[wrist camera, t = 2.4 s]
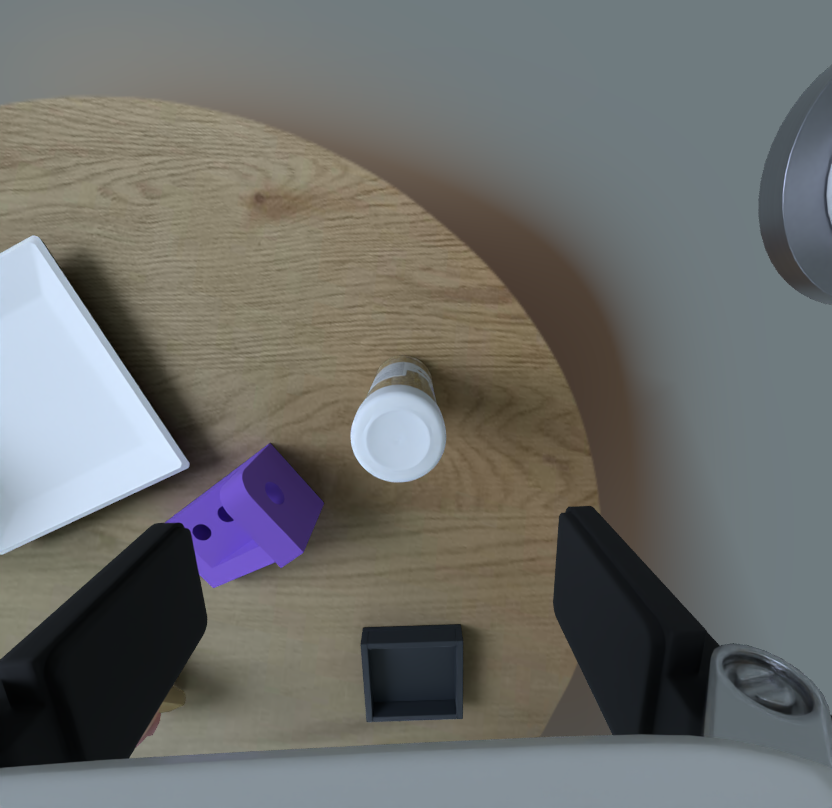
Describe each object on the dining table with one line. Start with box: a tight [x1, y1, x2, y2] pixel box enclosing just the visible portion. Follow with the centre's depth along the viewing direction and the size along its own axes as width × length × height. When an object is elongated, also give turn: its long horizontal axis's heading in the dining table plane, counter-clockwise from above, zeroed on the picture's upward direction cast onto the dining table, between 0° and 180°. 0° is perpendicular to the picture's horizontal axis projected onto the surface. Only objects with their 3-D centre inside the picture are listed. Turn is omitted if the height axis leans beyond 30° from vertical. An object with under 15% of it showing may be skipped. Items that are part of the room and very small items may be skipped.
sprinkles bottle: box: [351, 355, 446, 482], centre depth 25 cm, size 5×5×13 cm
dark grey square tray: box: [361, 624, 463, 722], centre depth 38 cm, size 9×9×2 cm
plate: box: [0, 235, 190, 555], centre depth 30 cm, size 19×19×2 cm
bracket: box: [165, 443, 324, 588], centre depth 31 cm, size 12×7×7 cm, turn 127°
